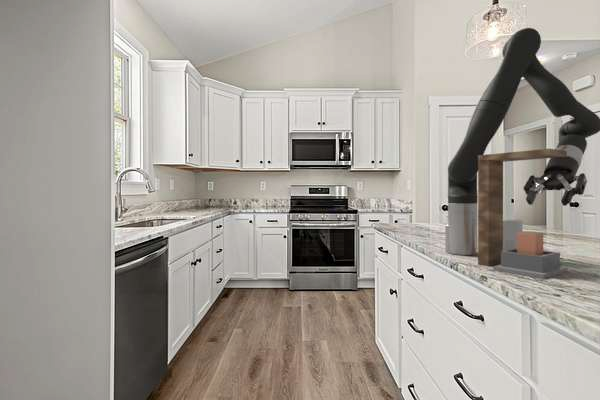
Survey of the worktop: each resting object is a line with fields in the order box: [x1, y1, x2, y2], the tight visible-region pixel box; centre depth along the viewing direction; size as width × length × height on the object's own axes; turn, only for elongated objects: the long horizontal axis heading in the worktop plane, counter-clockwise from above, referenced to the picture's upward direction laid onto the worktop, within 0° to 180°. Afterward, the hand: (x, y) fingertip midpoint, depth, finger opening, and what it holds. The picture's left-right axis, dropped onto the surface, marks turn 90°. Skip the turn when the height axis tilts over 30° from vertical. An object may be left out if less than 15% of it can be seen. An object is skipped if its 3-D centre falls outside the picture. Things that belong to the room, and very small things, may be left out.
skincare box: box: [503, 219, 524, 251], centre depth 113 cm, size 6×4×12 cm
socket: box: [492, 248, 568, 280], centre depth 94 cm, size 12×14×5 cm
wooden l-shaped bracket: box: [477, 148, 567, 267], centre depth 97 cm, size 18×10×32 cm, turn 34°
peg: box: [517, 231, 544, 256], centre depth 94 cm, size 4×4×9 cm
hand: (545, 203), depth 99 cm, fingers open, 8 cm apart
